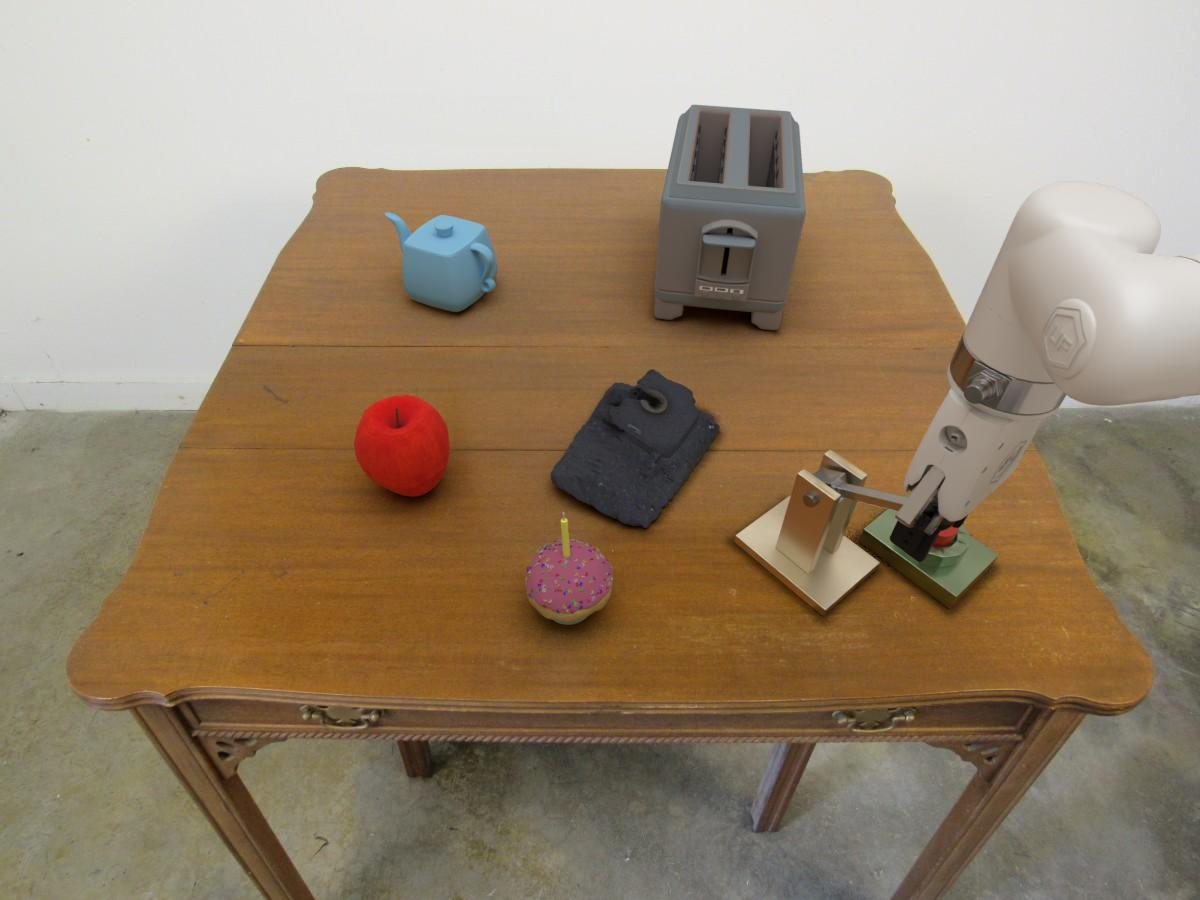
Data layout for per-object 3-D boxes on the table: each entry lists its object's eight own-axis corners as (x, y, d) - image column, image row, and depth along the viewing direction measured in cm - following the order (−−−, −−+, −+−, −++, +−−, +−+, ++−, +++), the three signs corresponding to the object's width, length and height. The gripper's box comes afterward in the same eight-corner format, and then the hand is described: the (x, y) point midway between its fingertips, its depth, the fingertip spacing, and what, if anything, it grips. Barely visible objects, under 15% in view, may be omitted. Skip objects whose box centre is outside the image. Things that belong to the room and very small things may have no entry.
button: (960, 535, 76) (966, 524, 75) (940, 553, 74) (946, 542, 73) (929, 514, 78) (934, 503, 77) (909, 531, 76) (915, 520, 75)
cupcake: (521, 578, 76) (512, 502, 67) (601, 562, 77) (602, 486, 69) (536, 651, 70) (528, 578, 62) (622, 633, 72) (626, 559, 63)
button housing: (990, 567, 78) (1006, 544, 75) (948, 609, 74) (963, 586, 71) (901, 505, 83) (912, 481, 81) (858, 541, 80) (868, 517, 77)
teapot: (421, 257, 119) (408, 189, 111) (517, 284, 114) (512, 215, 106) (373, 296, 112) (356, 226, 103) (474, 327, 106) (465, 256, 98)
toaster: (648, 335, 105) (658, 200, 91) (670, 221, 128) (680, 99, 114) (780, 349, 103) (812, 213, 89) (778, 230, 127) (802, 107, 112)
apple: (355, 511, 82) (327, 433, 73) (388, 449, 89) (366, 370, 80) (441, 524, 81) (424, 446, 72) (468, 460, 88) (454, 381, 79)
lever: (966, 523, 62) (962, 490, 61) (945, 543, 60) (941, 509, 59) (829, 489, 73) (823, 461, 72) (808, 505, 72) (802, 477, 70)
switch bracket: (877, 569, 77) (915, 488, 68) (822, 616, 73) (856, 537, 64) (788, 501, 84) (812, 419, 75) (733, 542, 80) (752, 459, 70)
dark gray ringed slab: (528, 486, 85) (525, 458, 81) (621, 380, 98) (622, 352, 95) (646, 541, 80) (648, 512, 76) (727, 421, 93) (732, 392, 90)
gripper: (997, 455, 45) (905, 617, 58) (1121, 347, 53) (1016, 511, 66) (891, 392, 49) (828, 556, 62) (1022, 300, 57) (941, 463, 70)
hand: (925, 531), depth 64 cm, fingers open, 4 cm apart
